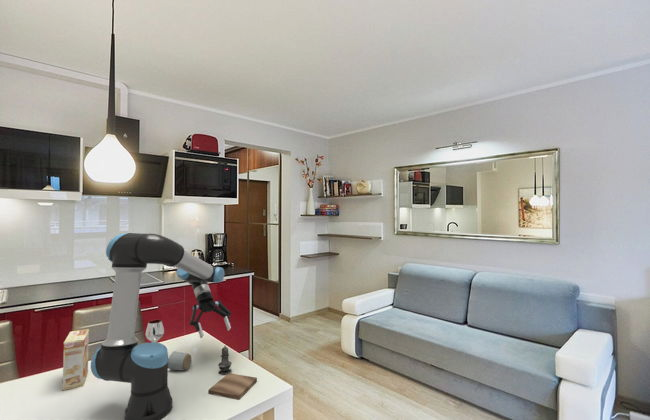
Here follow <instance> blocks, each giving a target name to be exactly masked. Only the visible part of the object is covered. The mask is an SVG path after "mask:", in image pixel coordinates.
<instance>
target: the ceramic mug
mask: <svg viewBox="0 0 650 420" xmlns="http://www.w3.org/2000/svg"><path fill="white" fill-rule="evenodd" d="M191 364H192V355H191V354H190V353H188V352H182V351H177V350H175V351H174V350H173V352H171V353H170V355H168V370H170V371H171V370H172V371H186V370H188V369H189V368H190V366H191Z"/></svg>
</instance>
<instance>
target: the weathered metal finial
mask: <svg viewBox="0 0 650 420" xmlns="http://www.w3.org/2000/svg"><path fill="white" fill-rule="evenodd" d="M229 356H230V355H229V348H228V347H227V346H226V345H224V347H222V348H221V355H220V357H221V361H220V362H219V363H218V364H217V366H218V368H219V371H218V374H219V375H220V376H226V375H227V374H228V373H232V370H231V369H230V368H231V367H232V364H233V363H232V362H231V361H229Z"/></svg>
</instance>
